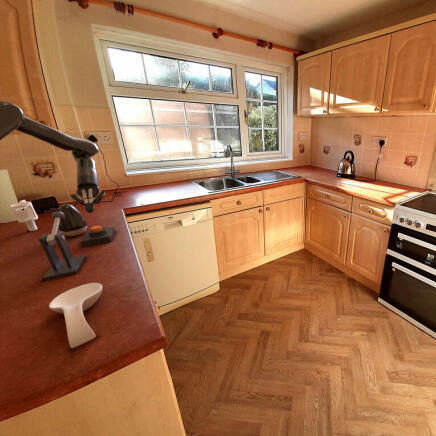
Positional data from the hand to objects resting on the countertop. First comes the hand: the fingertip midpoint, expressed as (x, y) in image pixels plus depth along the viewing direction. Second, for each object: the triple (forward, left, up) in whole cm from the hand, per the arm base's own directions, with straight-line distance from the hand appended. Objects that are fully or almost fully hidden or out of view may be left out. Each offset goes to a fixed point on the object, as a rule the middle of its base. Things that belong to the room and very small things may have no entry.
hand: (90, 211), depth 106 cm
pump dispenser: (-16, +6, -13) cm, 21 cm away
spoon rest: (+31, -49, -13) cm, 59 cm away
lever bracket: (+5, -24, -13) cm, 28 cm away
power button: (0, 0, -9) cm, 9 cm away
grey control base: (0, 0, -13) cm, 13 cm away
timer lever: (+3, -19, 0) cm, 19 cm away
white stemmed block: (-44, +13, -13) cm, 47 cm away
